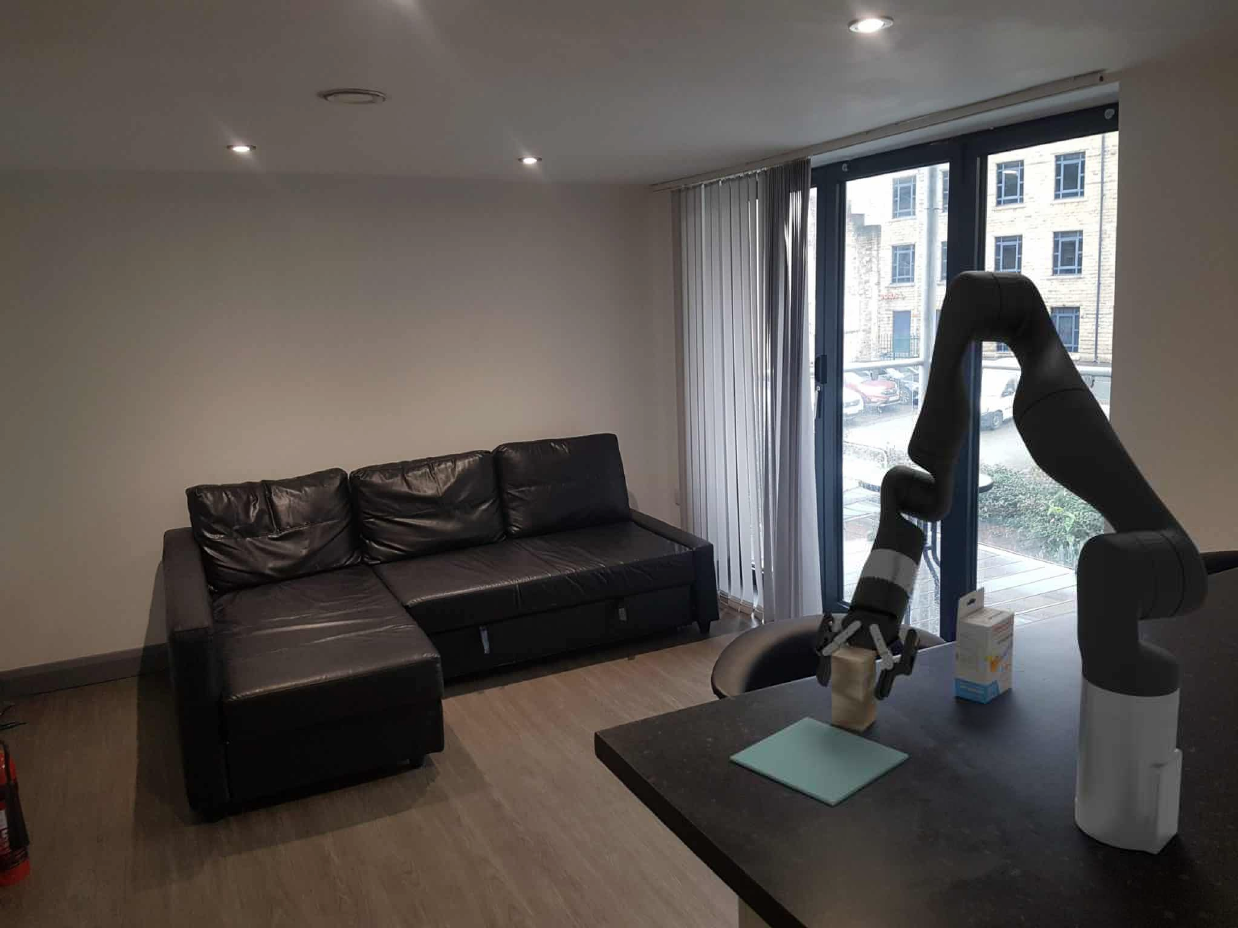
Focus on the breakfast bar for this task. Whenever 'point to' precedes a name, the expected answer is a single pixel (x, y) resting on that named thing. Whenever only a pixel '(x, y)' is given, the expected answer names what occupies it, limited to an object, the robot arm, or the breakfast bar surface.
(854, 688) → the block
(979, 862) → the breakfast bar surface
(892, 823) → the breakfast bar surface
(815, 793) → the mat
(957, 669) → the ink box
